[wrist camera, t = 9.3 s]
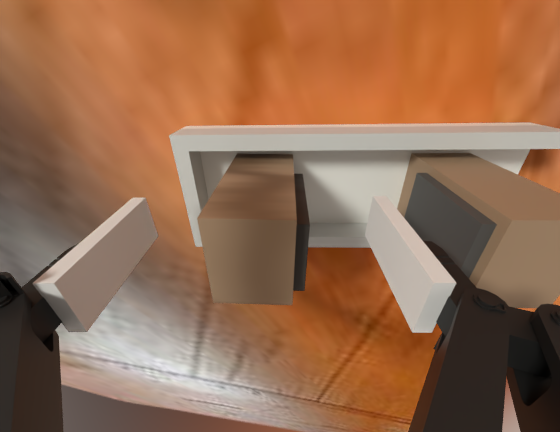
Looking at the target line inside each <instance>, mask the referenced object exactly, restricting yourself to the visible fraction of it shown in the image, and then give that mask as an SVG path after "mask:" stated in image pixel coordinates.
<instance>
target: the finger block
mask: <svg viewBox="0 0 560 432" xmlns="http://www.w3.org/2000/svg"><path fill="white" fill-rule="evenodd" d="M197 220H198V226H199V231H200V236H201V241H202V247H203V252H204V257H205V262H206V268H207V273H208V278H209V283H210V288H211V294H212V299H213V303H236V304H270V305H292V303H293V290H294V291H304V289H305V278H306V266H307V254H308V242H309V231H310V221H309V214H308V207H307V200H306V193H305V186H304V179H303V174H294V164H293V154H244V153H237V154H236V156H235V158H234V159H233V161H232V162H231V164H230V166H229V167H228V169H227V171H226V172H225V174H224V175H223V177H222V179H221V180H220V182H219V184H218V185H217V187H216V188H215V190H214V192H213V193H212V195H211V197H210V198H209V200H208V201H207V203H206V205H205V206H204V208H203V209H202V211H201V213H200V214H199V216H198V218H197Z"/></svg>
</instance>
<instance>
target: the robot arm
mask: <svg viewBox="0 0 560 432" xmlns="http://www.w3.org/2000/svg"><path fill="white" fill-rule="evenodd" d="M157 237H158V234H157V231H156V228H155V225H154V222H153V219H152V216H151V213H150V210H149V207H148V204H147V201H146V198H132V199H130V200H129V201H128V202H127V203H126V204H125V205H123V206H122V207H121V208H120V209H119V210H118V211H116V212H115V213H114V214H113V215H112V216H111V217H109V218H108V219H107V220H106V221H105V222H104V223H102V224H101V225H100V226H99V227H98V228H97V229H95V230H94V231H93V232H92V233H91V234H89V235H88V236H87V237H86V238H85V239H84V240H82V241H81V242H80V243H78V244H77V245H75V246H73V247H71V248H69V249H68V250H66V251H65V252H64V253H62V254H61V255H60V256H59V257H58V258H57V260H54V261H53V262H52V263H50V264H49V266H47V267H46V268H44V269H43V270H42V271H41V272H40V273H38V274H37V275H36V276H35V277H34V278H33V279H31V280H30V281H29V282H28V283H27V284H25V285H24V286H23V287H22V288H21V287H20V285H19V284H18V283H17V282H16V280H15V279H14V278H13V276H12V275H11V274H10V273H7V272H1V273H0V432H63V415H62V393H61V373H60V353H59V336H58V334H57V332H56V331H55V329H56V328H57V327H58V326H59V325H60V324H61V322H62V324H63V325H64V326H65V328H66V329H67V330H68V332H87V331H88V330H89V328H90V327H91V326H92V324H93V323H94V322H95V320H96V319H97V318H98V316H99V315H100V314H101V312H102V311H103V310H104V308H105V307H106V306H107V304H108V303H109V302H110V300H111V299H112V298H113V296H114V295H115V294H116V292H117V291H118V290H119V288H120V287H121V286H122V284H123V283H124V282H125V280H126V279H127V278H128V276H129V275H130V274H131V272H132V271H133V270H134V268H135V267H136V266H137V264H138V263H139V262H140V260H141V259H142V257H143V256H144V255H145V253H146V252H147V251H148V249H149V248H150V247H151V245H152V244H153V243H154V241H155V240H156V239H157ZM365 237H366V239H367V241H368V243H369V245H370V247H371V249H372V251H373V253H374V255H375V257H376V259H377V261H378V263H379V265H380V267H381V269H382V271H383V273H384V275H385V278H386V280H387V282H388V284H389V286H390V288H391V290H392V292H393V294H394V296H395V298H396V300H397V302H398V304H399V306H400V308H401V310H402V312H403V314H404V317H405V319H406V321H407V323H408V325H409V327H410V329H411V331H412V333H432V331H433V329H434V327H435V325H436V323H437V324H438V326H439V327H440V329H441V331H442V334H441V336H440V338H439V339H438V341H437V343H436V345H435V347H434V349H435V353H434V356H433V359H432V362H431V365H430V368H429V371H428V374H427V377H426V380H425V383H424V386H423V389H422V392H421V395H420V398H419V401H418V404H417V407H416V410H415V413H414V416H413V419H412V422H411V425H410V428H409V431H408V432H502V423H503V411H504V410H503V409H504V398H505V385H506V376H507V380H508V384H509V388H510V392H511V396H512V399H513V404H514V408H515V411H516V415H517V419H518V423H519V427H520V431H521V432H560V306H558V305H553V304H541V305H540V306H539V307H538V308H537V309H536V311H535V312H530V311H526V310H522V309H517V308H513V307H509V306H508V305H507V304H506V302H505V301H504V300H502V299H501V298H500V297H498V296H497V295H495V294H493V293H491V292H489V291H487V290H483V289H480V288H477V287H476V286H475V285H474V284H473V283H472V282H471V281H470V279H469V278H468V277H467V276H466V275H465V274H464V273H463V271H462V270H461V269H460V268H459V267H458V266H457V265H456V264H455V262H454V261H453V260H452V259H451V258H449V256H448V254H447V253H446V252H445V251H444V250H443V249H442V248H441V247H439V246H438V245H436V244H435V243H433V242H432V241H422V239H421V238H420V237H419V236H418V234H417V233H416V232H415V231H414V230H413V228H412V227H411V226H410V225H409V223H408V222H407V221H406V220H405V218H404V217H403V216H402V215H401V213H400V212H399V211H398V210H397V208H396V207H395V206H394V205H393V203H392V202H391V201H390V200H389V199H388V197H387V196H373V197H372V202H371V207H370V212H369V217H368V222H367V227H366V232H365Z"/></svg>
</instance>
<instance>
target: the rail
mask: <svg viewBox="0 0 560 432" xmlns="http://www.w3.org/2000/svg"><path fill="white" fill-rule="evenodd" d="M169 137H170V141H171V145H172V149H173V154H174V158H175V162H176V166H177V170H178V175H179V179H180V183H181V187H182V191H183V196H184V200H185V204H186V208H187V212H188V217H189V221H190V225H191V229H192V233H193V238H194V242H195V246H196V247H202V241H201V236H200V231H199V226H198V220H197V218H198V216H199V214H200V213H201V211H202V209H203V208H204V206H205V205H206V203H207V201H208V200H209V198H210V197H211V195H212V193H213V192H214V190H215V188H216V187H217V185H218V184H219V182H220V180H221V179H222V177H223V175H224V174H225V172H226V171H227V169H228V167H229V166H230V164H231V162H232V161H233V159H234V158H235V156H236V154H237V153H244V154H293V164H294V174H303V179H304V186H305V193H306V200H307V207H308V214H309V221H310V231H309V242H308V247H352V248H371V247H370V245H369V243H368V241H367V239H366V237H365V232H366V227H367V222H368V217H369V212H370V207H371V202H372V197H373V196H387V197H388V199H389V200H390V201H391V202H392V203H393V205H394V206H395V207H396V208H397V210H398V211H399V212H400V213H401V215H402V216H403V217H404V218H405V220H406V221H407V222H408V223H409V225H410V226H411V227H412V228H413V230H414V231H415V232H416V233H417V234H418V236H419V237H420V238H421V239H422V241H432V242H433V243H435V244H436V245H438V246H439V247H441V248H442V249H443V250H444V251H445V252H446V253H447V254H448V256H449V258H451V259H452V260H453V261H454V262H455V264H456V265H457V266H458V267H459V268H460V269H461V270H462V271H463V273H464V274H465V275H466V276H467V277H468V278H469V279H470V281H471V282H472V283H473V284H474V285H475V286H476V287H477V288H480V289H483V290H487V291H489V292H491V293H493V294H495V295H497V296H498V297H500V298H501V299H502V300H504V301H505V302H506V304H507V305H508V306H509V307H513V308H538V307H539V306H540V305H541V304H553V303H554V301H555V300H556V299H557V298H558V296H559V295H560V193H558V192H555V191H553V190H551V189H549V188H547V187H544V186H542V185H540V184H538V183H535V182H533V181H531V180H529V179H527V178H524V177H522V176H520V175H518V173H519V171H520V169H521V167H522V165H523V163H524V161H525V159H526V157H527V155H528V153H529V151H530V149H560V129H558V128H553V127H548V126H544V125H539V124H534V123H530V122H529V123H430V124H331V125H233V126H186V127H184V128H182V129H180V130H178V131H176V132H174V133H173V134H171V135H169Z"/></svg>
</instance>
